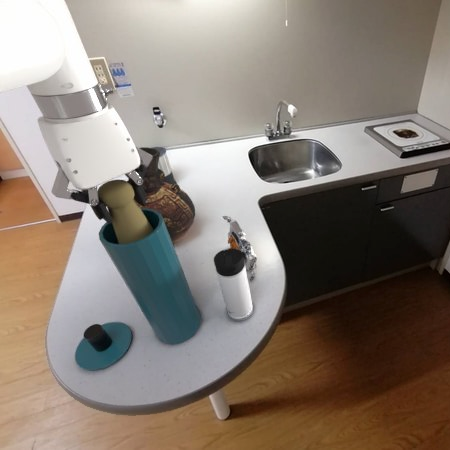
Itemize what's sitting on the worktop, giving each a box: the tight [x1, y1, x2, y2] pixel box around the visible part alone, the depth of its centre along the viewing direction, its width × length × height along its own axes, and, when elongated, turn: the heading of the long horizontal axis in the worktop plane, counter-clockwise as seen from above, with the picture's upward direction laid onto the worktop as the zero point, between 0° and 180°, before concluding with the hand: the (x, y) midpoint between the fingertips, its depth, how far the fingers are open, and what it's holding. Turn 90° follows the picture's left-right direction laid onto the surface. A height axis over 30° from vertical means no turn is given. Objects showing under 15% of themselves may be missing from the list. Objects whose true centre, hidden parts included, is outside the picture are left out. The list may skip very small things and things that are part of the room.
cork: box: [97, 179, 154, 244], centre depth 52 cm, size 6×6×11 cm
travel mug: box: [213, 248, 254, 322], centre depth 71 cm, size 6×7×20 cm
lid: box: [74, 321, 133, 372], centre depth 68 cm, size 11×11×7 cm
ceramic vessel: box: [136, 146, 196, 244], centre depth 89 cm, size 21×18×30 cm
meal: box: [222, 215, 258, 281], centre depth 85 cm, size 15×4×13 cm, turn 35°
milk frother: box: [151, 146, 178, 184], centre depth 114 cm, size 14×16×15 cm
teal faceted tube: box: [98, 208, 202, 345], centre depth 64 cm, size 10×10×32 cm
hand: (124, 210), depth 52 cm, fingers closed on cork, 5 cm apart
